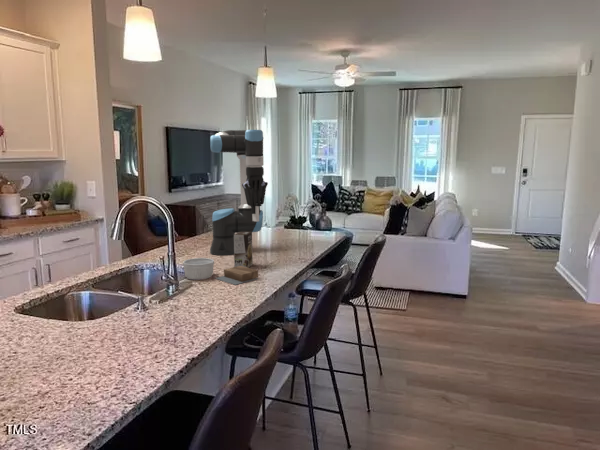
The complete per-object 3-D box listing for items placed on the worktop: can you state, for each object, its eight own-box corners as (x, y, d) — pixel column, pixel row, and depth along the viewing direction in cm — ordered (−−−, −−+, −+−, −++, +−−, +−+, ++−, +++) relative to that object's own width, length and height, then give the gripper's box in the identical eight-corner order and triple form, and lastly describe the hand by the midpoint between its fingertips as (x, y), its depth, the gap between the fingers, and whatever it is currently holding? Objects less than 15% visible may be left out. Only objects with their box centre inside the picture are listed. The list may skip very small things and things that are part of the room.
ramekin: (204, 270, 204) (203, 256, 203) (220, 276, 194) (220, 260, 193) (177, 276, 195) (177, 261, 193) (194, 282, 185) (193, 266, 184)
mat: (237, 273, 199) (237, 272, 199) (257, 279, 190) (257, 278, 190) (215, 278, 191) (214, 277, 191) (235, 285, 181) (235, 284, 181)
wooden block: (240, 265, 199) (223, 269, 193) (258, 270, 191) (241, 274, 184) (240, 272, 199) (224, 276, 193) (258, 277, 191) (241, 281, 185)
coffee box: (247, 269, 206) (246, 234, 203) (234, 268, 207) (233, 234, 205) (253, 264, 215) (252, 231, 212) (240, 263, 216) (239, 231, 213)
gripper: (248, 167, 184) (249, 223, 188) (271, 166, 193) (272, 220, 197) (237, 166, 189) (238, 221, 193) (260, 165, 198) (261, 218, 202)
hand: (255, 221), depth 195 cm, fingers closed
